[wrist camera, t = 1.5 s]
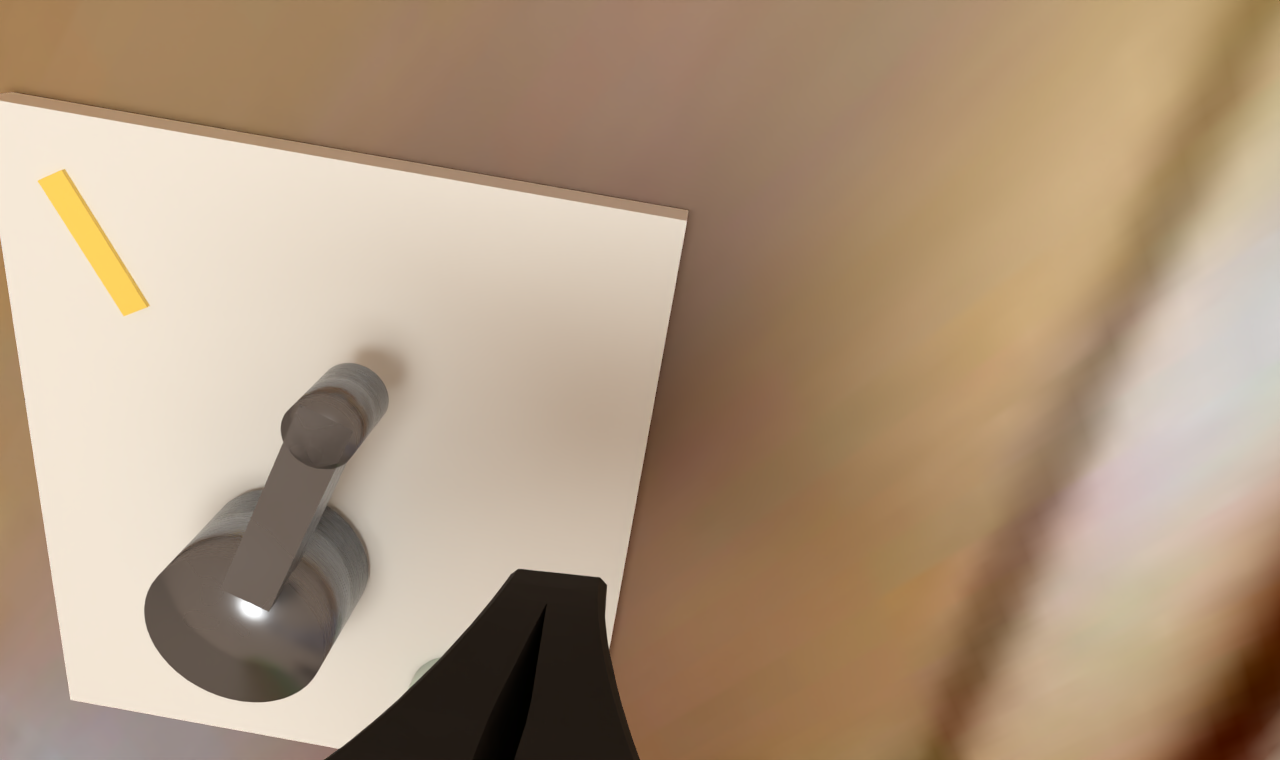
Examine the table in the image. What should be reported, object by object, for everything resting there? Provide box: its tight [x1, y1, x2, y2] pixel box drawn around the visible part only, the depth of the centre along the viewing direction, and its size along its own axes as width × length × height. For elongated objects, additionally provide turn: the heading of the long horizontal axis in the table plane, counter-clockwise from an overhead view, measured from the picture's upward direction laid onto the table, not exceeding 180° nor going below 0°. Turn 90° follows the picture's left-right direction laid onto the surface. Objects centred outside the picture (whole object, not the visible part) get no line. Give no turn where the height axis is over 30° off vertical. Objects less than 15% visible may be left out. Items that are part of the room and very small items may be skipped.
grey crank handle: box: [144, 363, 389, 702], centre depth 22 cm, size 10×4×3 cm, turn 151°
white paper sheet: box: [0, 92, 689, 749], centre depth 24 cm, size 18×16×2 cm
